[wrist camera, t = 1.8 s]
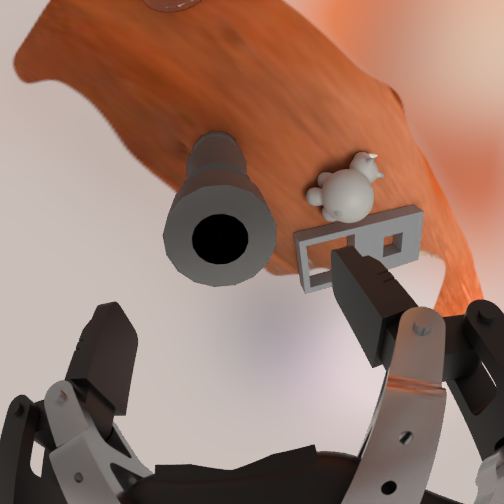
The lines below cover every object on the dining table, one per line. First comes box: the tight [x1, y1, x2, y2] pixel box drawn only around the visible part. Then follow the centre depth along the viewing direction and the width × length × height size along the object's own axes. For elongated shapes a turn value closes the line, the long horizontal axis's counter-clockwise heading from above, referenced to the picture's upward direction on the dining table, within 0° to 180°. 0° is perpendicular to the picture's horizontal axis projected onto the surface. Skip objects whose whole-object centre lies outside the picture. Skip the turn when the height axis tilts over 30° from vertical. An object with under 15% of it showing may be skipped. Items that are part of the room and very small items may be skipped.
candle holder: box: [163, 131, 277, 287], centre depth 24 cm, size 6×6×25 cm
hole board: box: [294, 205, 424, 294], centre depth 44 cm, size 10×23×3 cm, turn 101°
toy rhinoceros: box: [306, 152, 385, 223], centre depth 36 cm, size 7×12×8 cm, turn 133°
